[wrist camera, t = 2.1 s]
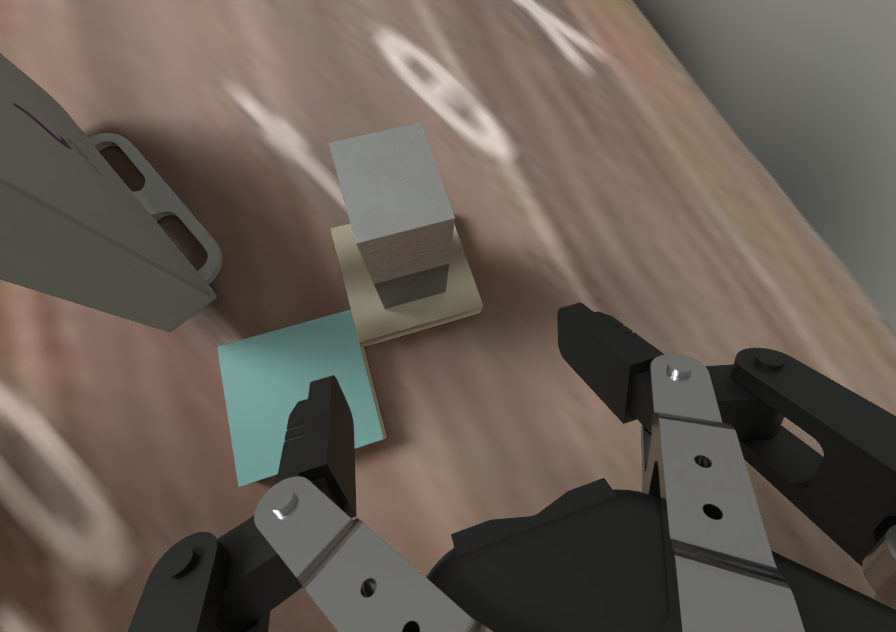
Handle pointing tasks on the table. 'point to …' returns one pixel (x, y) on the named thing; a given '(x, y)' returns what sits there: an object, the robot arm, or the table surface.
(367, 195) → the grey rectangular block
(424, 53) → the table surface
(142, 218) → the network device
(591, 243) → the table surface
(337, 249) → the stand
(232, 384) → the stand
